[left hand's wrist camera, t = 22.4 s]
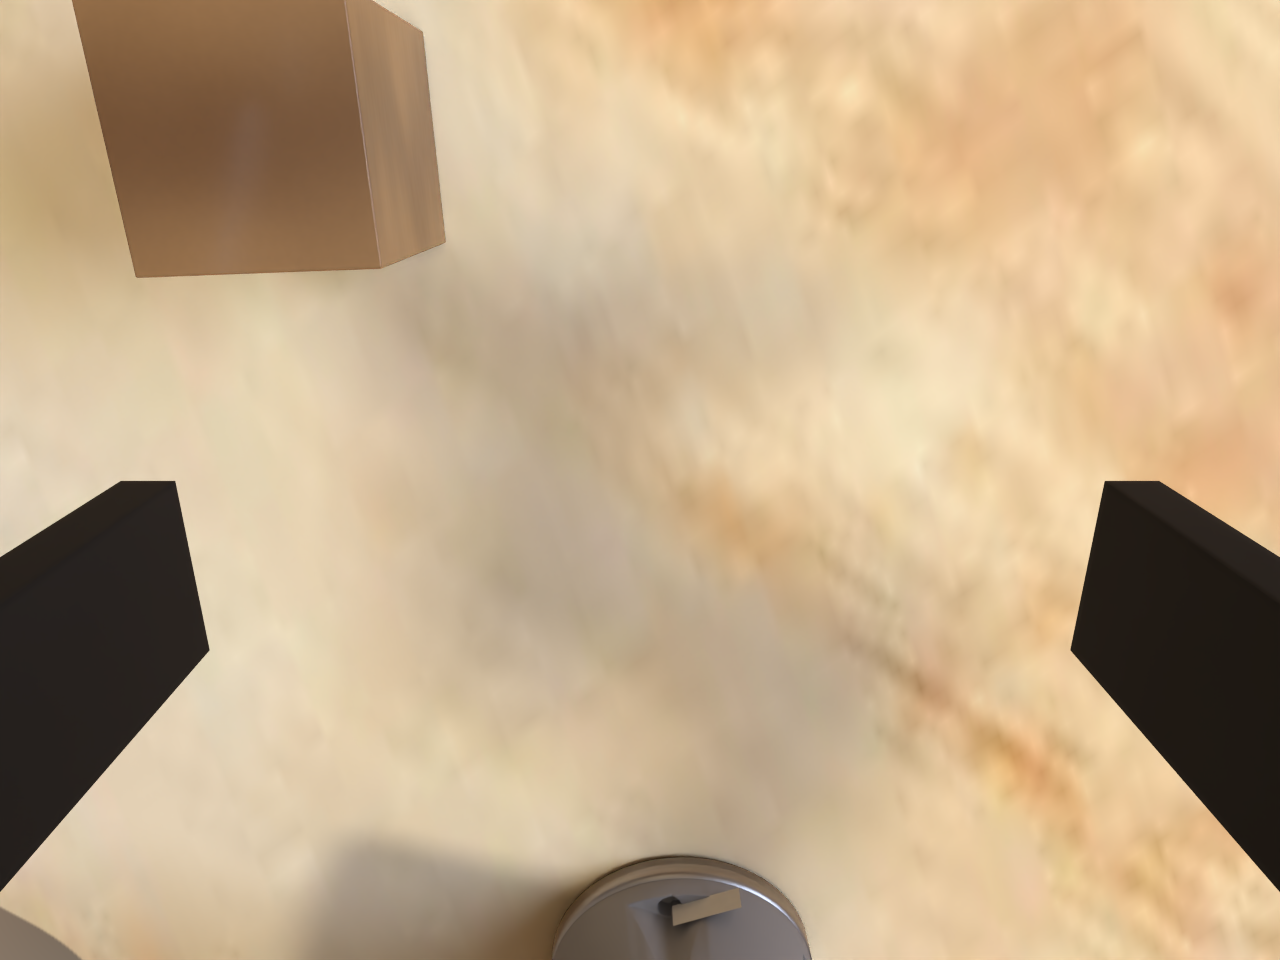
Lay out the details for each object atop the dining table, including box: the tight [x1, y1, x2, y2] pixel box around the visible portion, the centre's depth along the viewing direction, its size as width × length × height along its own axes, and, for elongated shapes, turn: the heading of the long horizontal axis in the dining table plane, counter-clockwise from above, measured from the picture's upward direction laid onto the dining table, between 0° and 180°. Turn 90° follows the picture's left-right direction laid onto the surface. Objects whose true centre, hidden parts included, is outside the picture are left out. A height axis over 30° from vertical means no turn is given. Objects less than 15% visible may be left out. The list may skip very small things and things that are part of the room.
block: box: [72, 0, 445, 278], centre depth 32 cm, size 8×8×10 cm
